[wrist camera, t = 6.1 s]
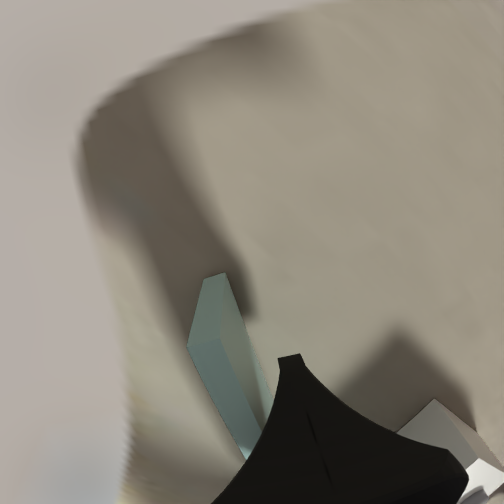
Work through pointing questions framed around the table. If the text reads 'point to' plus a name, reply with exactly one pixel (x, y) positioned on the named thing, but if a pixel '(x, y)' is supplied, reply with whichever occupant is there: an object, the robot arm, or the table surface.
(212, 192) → the table surface
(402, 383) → the table surface
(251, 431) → the side door
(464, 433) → the block
